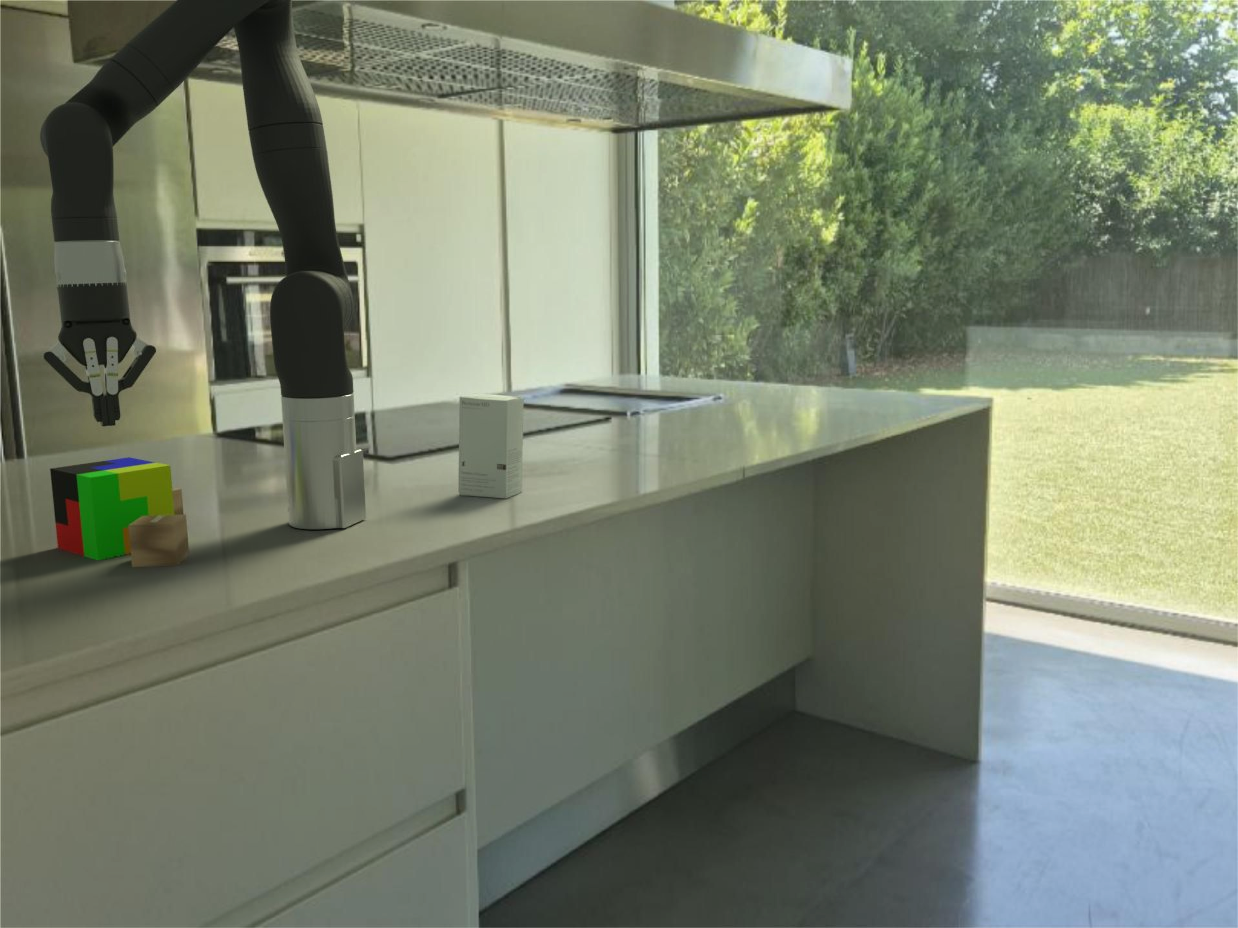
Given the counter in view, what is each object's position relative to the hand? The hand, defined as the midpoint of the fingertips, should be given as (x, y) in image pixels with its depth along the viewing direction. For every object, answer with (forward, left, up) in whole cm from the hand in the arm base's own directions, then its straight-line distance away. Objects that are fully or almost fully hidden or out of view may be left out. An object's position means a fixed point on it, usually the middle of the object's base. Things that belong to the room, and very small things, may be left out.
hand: (107, 425), depth 136 cm
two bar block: (+2, -10, -15) cm, 18 cm away
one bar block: (-10, +5, -15) cm, 19 cm away
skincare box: (-34, -40, -15) cm, 55 cm away
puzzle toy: (0, 0, -15) cm, 15 cm away
